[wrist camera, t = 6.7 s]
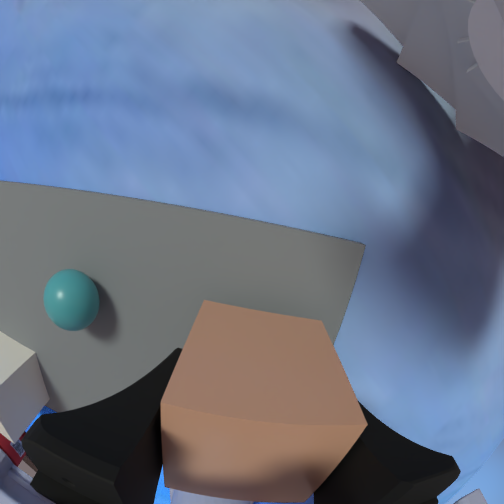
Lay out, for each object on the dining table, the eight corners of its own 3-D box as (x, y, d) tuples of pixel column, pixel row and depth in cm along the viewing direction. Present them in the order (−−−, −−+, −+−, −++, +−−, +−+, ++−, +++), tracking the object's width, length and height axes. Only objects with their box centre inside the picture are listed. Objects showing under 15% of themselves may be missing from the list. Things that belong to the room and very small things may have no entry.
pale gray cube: (49, 399, 15) (14, 444, 9) (11, 375, 15) (-25, 411, 9) (35, 352, 14) (-13, 397, 8) (-3, 329, 13) (-48, 363, 8)
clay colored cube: (290, 403, 12) (304, 502, 6) (192, 387, 12) (164, 486, 6) (321, 320, 11) (367, 424, 5) (204, 299, 11) (160, 402, 5)
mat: (272, 467, 16) (272, 471, 16) (9, 378, 15) (6, 380, 15) (361, 243, 12) (365, 245, 12) (-19, 178, 11) (-24, 179, 11)
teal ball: (110, 321, 13) (82, 350, 10) (67, 306, 13) (36, 330, 10) (110, 268, 12) (76, 290, 9) (65, 256, 12) (29, 273, 9)
